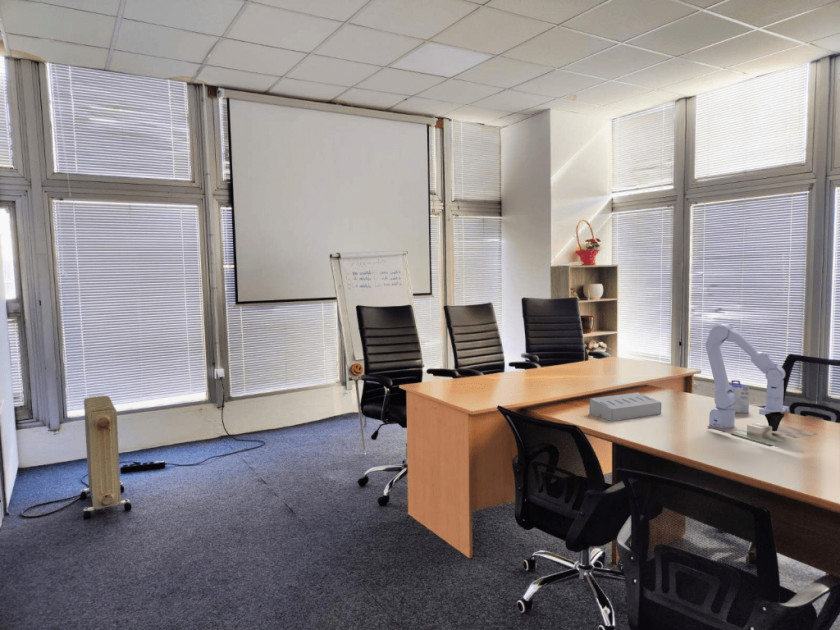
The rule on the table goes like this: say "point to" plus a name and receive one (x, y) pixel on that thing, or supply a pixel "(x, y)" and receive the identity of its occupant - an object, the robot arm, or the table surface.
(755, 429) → the birch block
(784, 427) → the trap board
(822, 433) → the table surface
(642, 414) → the warehouse
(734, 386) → the ink cartridge box
